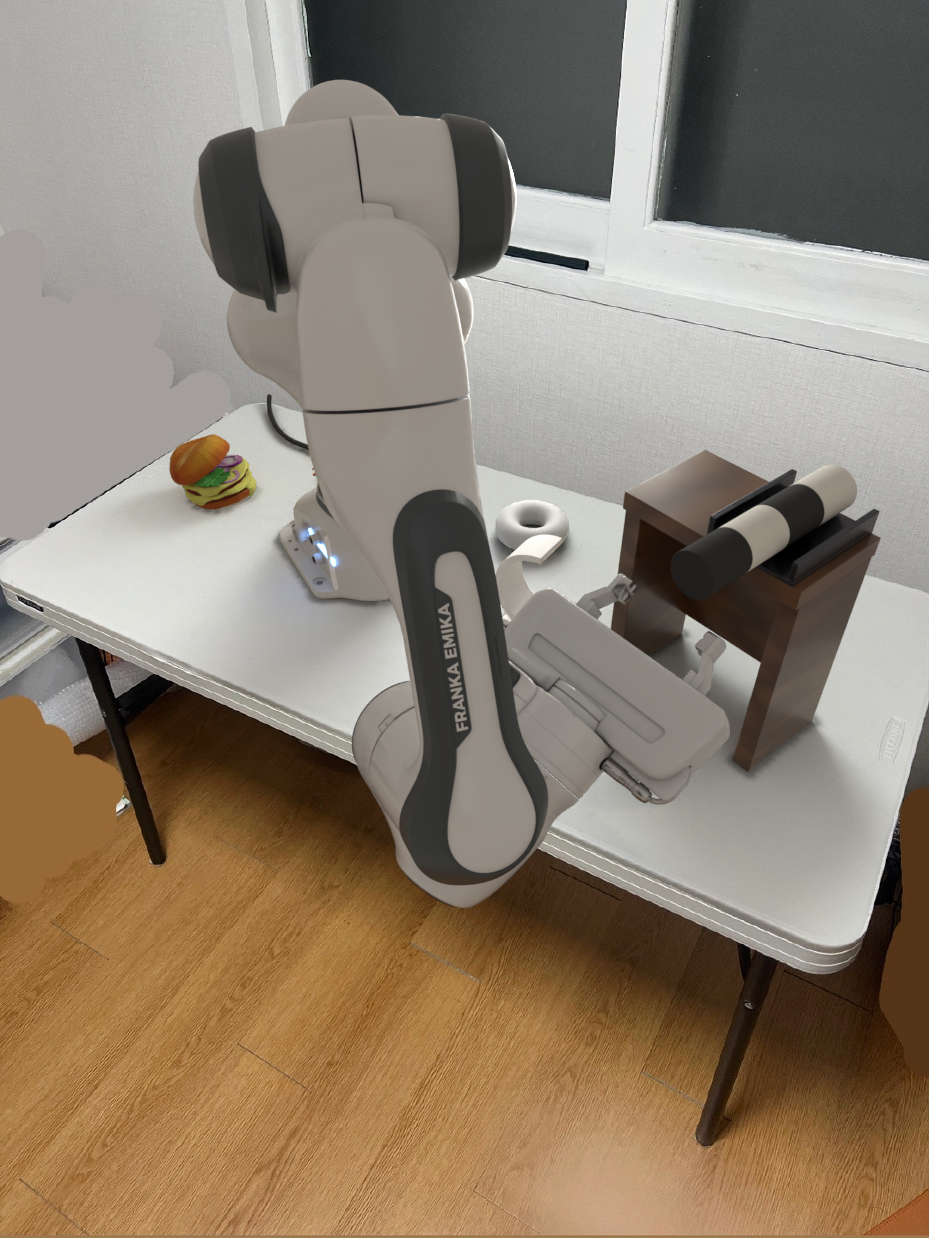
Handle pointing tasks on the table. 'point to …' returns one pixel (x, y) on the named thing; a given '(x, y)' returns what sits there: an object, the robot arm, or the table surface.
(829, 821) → the table surface
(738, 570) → the roll
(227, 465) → the cheeseburger
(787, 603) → the shelf
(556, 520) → the donut
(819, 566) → the tray
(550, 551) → the headphone stand
